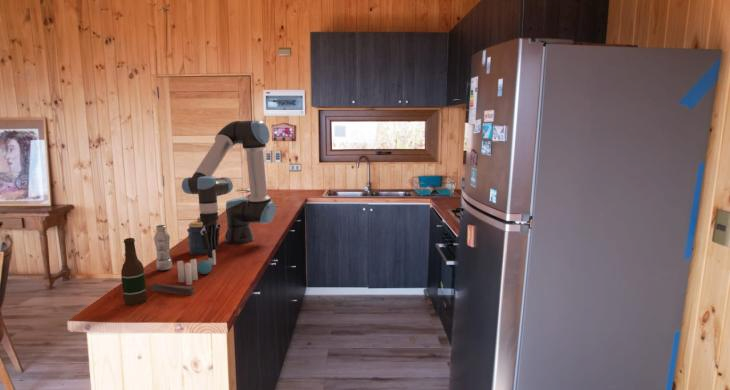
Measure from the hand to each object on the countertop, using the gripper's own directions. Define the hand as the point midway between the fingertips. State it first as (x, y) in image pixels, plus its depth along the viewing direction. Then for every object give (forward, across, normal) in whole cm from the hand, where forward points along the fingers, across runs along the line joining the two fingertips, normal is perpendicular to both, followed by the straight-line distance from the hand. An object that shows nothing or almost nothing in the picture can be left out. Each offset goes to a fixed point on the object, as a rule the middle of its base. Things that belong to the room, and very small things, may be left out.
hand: (212, 264), depth 196 cm
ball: (-1, +6, 0) cm, 6 cm away
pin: (+3, +18, +1) cm, 18 cm away
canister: (+2, -23, -21) cm, 31 cm away
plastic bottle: (+3, +5, -21) cm, 22 cm away
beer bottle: (+3, +38, -7) cm, 39 cm away
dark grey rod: (+3, +27, 0) cm, 27 cm away
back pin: (+3, +16, -4) cm, 17 cm away
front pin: (+3, +13, 0) cm, 13 cm away
